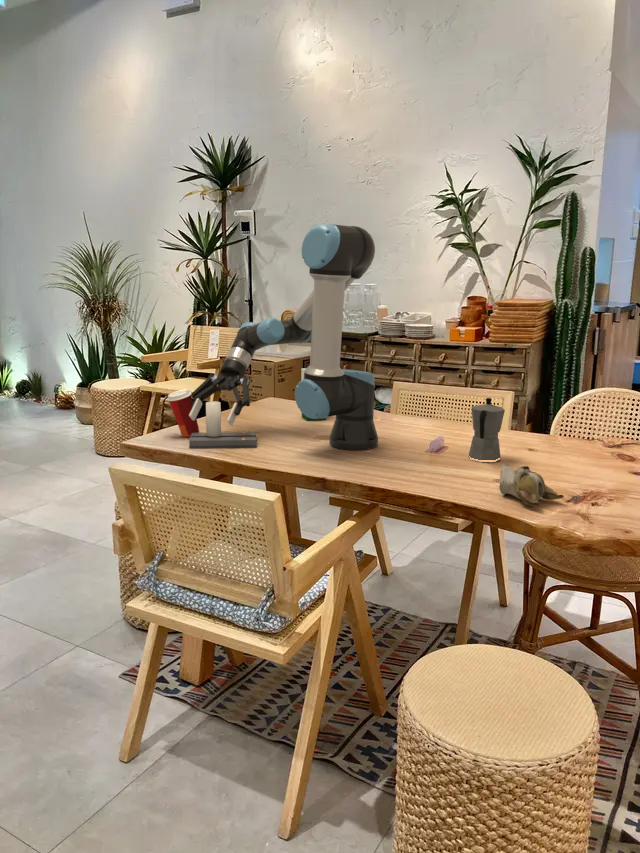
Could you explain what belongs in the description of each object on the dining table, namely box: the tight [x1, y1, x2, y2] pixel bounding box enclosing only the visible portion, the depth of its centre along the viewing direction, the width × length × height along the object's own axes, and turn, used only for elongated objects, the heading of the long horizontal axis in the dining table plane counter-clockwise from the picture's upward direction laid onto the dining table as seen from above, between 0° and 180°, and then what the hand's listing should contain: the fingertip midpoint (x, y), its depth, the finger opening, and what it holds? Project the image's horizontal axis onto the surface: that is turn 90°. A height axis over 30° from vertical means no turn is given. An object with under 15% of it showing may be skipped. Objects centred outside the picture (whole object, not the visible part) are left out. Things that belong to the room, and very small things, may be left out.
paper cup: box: [167, 388, 200, 438], centre depth 215 cm, size 8×8×14 cm
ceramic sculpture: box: [498, 463, 565, 507], centre depth 161 cm, size 11×9×15 cm
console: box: [188, 431, 258, 449], centre depth 208 cm, size 20×10×3 cm, turn 96°
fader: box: [205, 400, 222, 437], centre depth 206 cm, size 4×4×12 cm
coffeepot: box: [468, 397, 506, 460], centre depth 193 cm, size 15×9×18 cm, turn 156°
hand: (210, 420), depth 205 cm, fingers open, 13 cm apart
